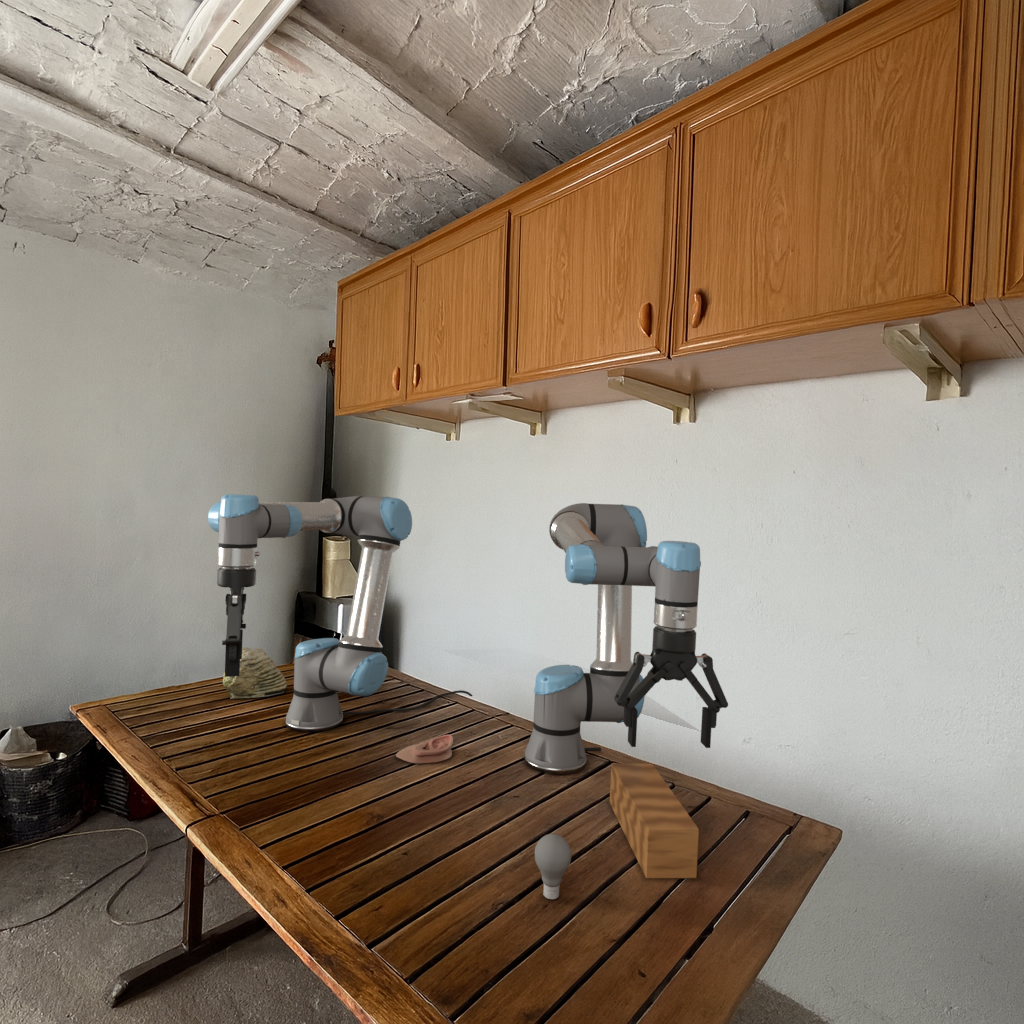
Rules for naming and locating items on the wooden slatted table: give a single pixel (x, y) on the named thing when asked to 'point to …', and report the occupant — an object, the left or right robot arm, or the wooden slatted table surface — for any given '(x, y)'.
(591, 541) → the right robot arm
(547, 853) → the light bulb
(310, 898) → the wooden slatted table surface
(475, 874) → the wooden slatted table surface
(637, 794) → the box
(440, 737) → the anatomical model
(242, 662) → the fossil
